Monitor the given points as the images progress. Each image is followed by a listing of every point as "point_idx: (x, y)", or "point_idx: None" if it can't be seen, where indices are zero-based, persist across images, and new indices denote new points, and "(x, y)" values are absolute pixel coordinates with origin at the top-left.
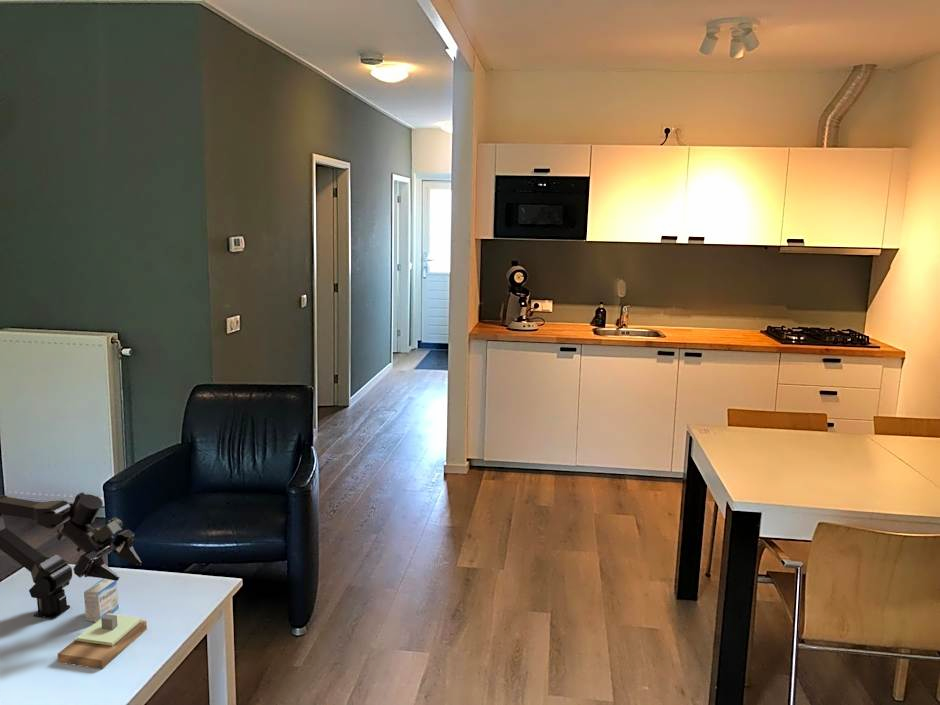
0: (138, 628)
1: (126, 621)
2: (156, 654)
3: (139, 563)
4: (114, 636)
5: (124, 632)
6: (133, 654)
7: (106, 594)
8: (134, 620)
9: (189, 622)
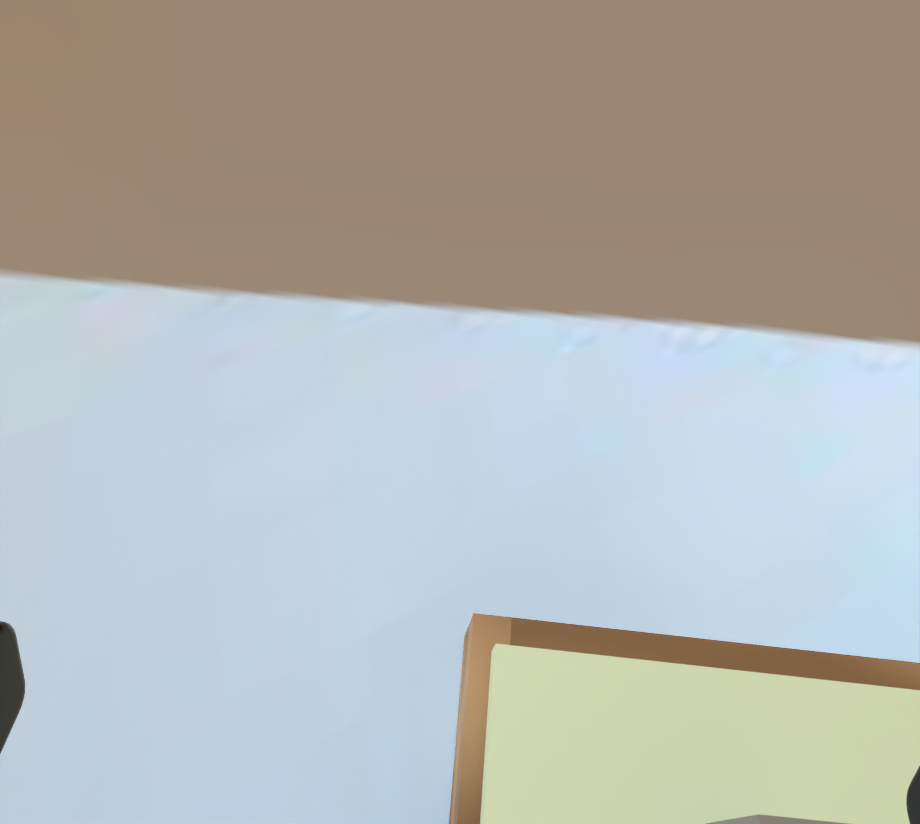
0: (600, 630)
1: (596, 772)
2: (764, 405)
3: (2, 667)
4: (878, 739)
5: (783, 675)
6: (820, 563)
7: None
8: (557, 693)
9: (321, 352)
